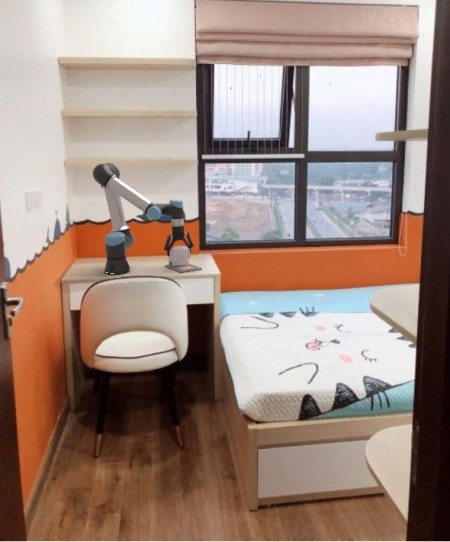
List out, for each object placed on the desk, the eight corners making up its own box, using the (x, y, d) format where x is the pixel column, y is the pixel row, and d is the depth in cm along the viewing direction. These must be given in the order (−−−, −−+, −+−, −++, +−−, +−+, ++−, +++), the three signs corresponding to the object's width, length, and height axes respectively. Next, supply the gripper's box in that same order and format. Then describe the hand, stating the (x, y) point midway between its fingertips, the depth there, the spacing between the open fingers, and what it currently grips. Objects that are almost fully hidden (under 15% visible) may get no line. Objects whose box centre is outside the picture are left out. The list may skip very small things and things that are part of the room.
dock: (181, 273, 309) (180, 265, 308) (165, 266, 327) (164, 259, 326) (201, 269, 316) (201, 262, 315) (184, 263, 334) (184, 256, 333)
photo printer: (188, 264, 327) (187, 244, 324) (189, 265, 323) (188, 246, 320) (171, 265, 325) (170, 245, 323) (172, 266, 321) (171, 247, 318)
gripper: (162, 228, 310) (164, 263, 315) (198, 224, 322) (199, 258, 327) (157, 226, 316) (159, 261, 321) (192, 222, 328) (193, 256, 333)
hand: (179, 259), depth 324 cm, fingers open, 12 cm apart
